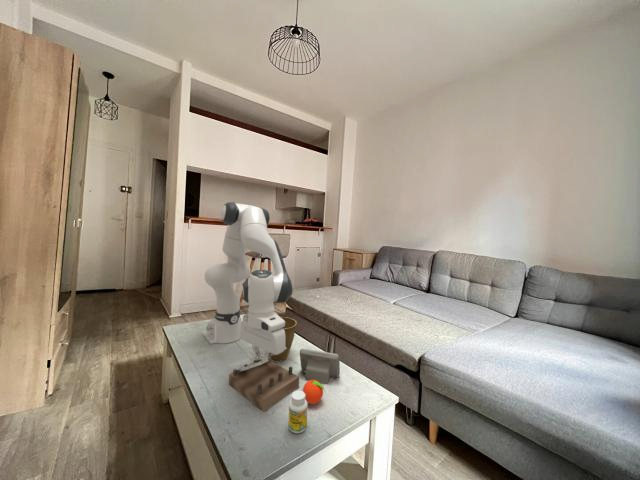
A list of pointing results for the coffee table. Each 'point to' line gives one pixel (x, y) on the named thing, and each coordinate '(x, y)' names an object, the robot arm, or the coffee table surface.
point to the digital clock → (319, 365)
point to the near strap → (251, 366)
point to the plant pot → (286, 339)
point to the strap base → (264, 383)
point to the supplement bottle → (298, 412)
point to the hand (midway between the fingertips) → (261, 359)
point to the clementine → (313, 391)
